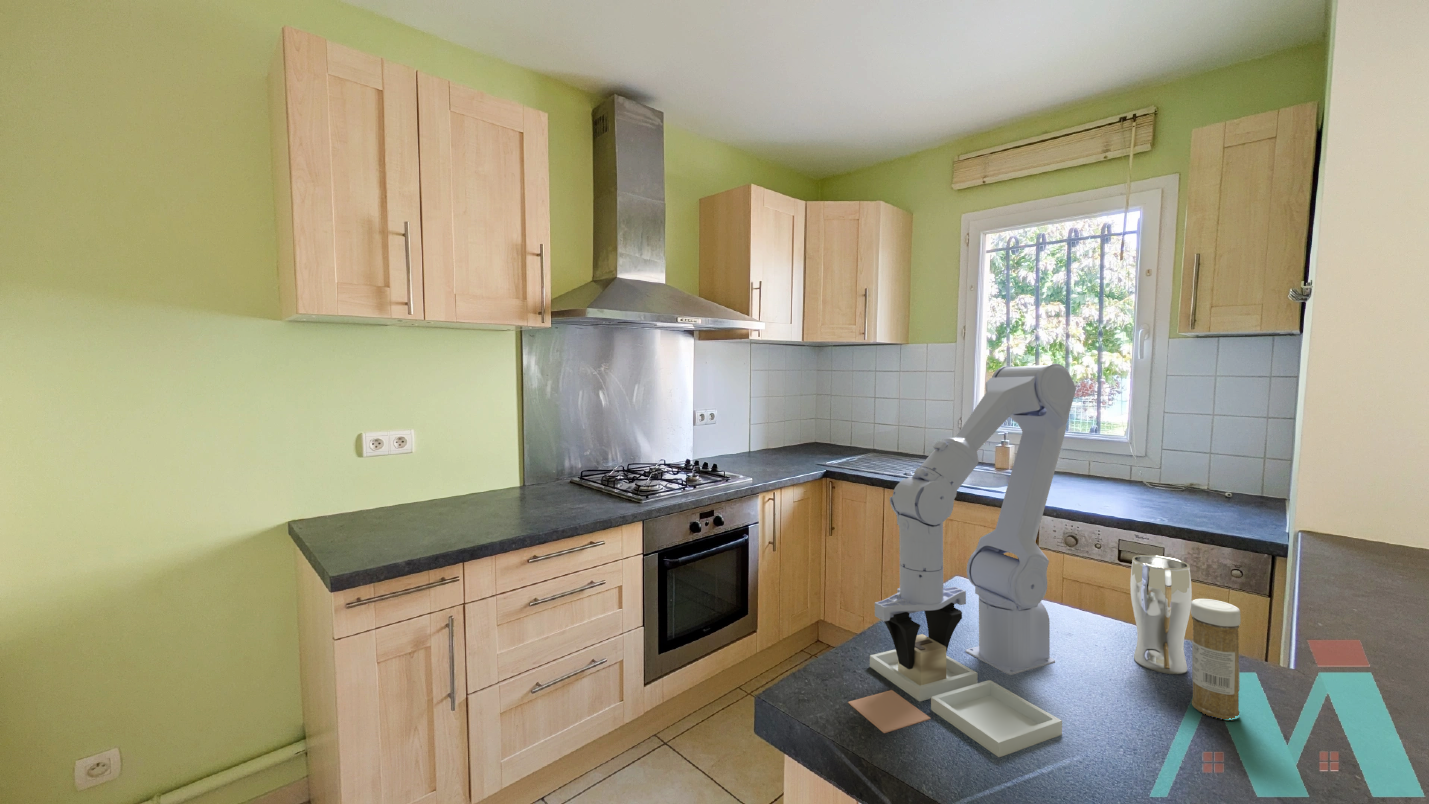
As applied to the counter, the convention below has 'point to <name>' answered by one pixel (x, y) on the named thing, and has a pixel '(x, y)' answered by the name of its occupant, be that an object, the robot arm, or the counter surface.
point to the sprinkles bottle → (1215, 658)
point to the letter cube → (926, 661)
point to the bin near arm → (954, 680)
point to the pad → (888, 711)
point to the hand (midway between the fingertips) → (921, 661)
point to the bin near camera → (996, 717)
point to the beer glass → (1161, 611)
